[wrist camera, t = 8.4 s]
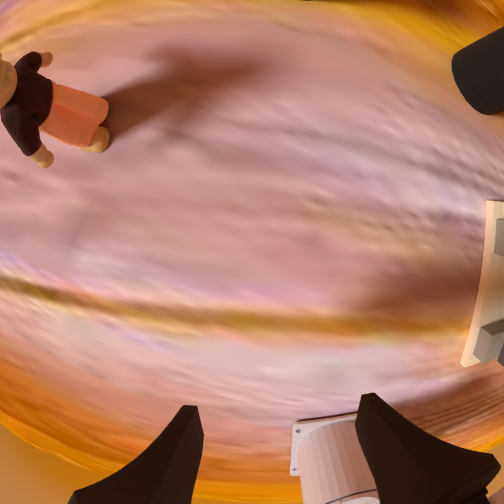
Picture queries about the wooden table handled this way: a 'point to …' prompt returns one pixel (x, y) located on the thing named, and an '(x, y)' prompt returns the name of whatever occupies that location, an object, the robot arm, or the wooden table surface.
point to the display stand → (489, 294)
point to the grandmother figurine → (48, 110)
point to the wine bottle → (482, 73)
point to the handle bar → (501, 356)
